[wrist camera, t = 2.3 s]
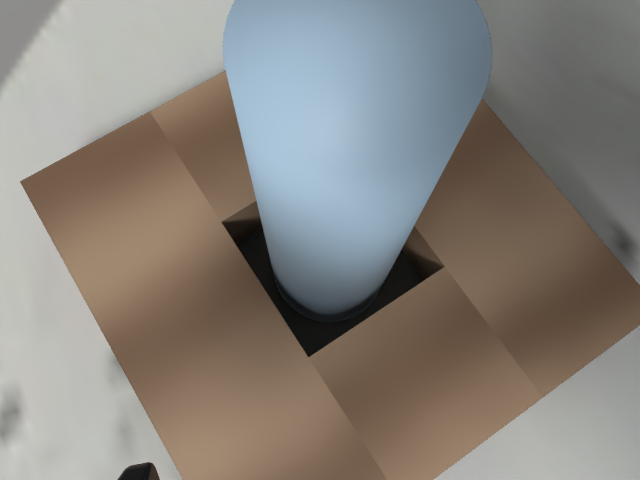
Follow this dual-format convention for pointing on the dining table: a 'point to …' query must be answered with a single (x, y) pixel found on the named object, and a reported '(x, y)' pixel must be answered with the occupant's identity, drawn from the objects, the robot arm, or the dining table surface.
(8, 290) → the dining table surface
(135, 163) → the pocket block
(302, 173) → the peg
